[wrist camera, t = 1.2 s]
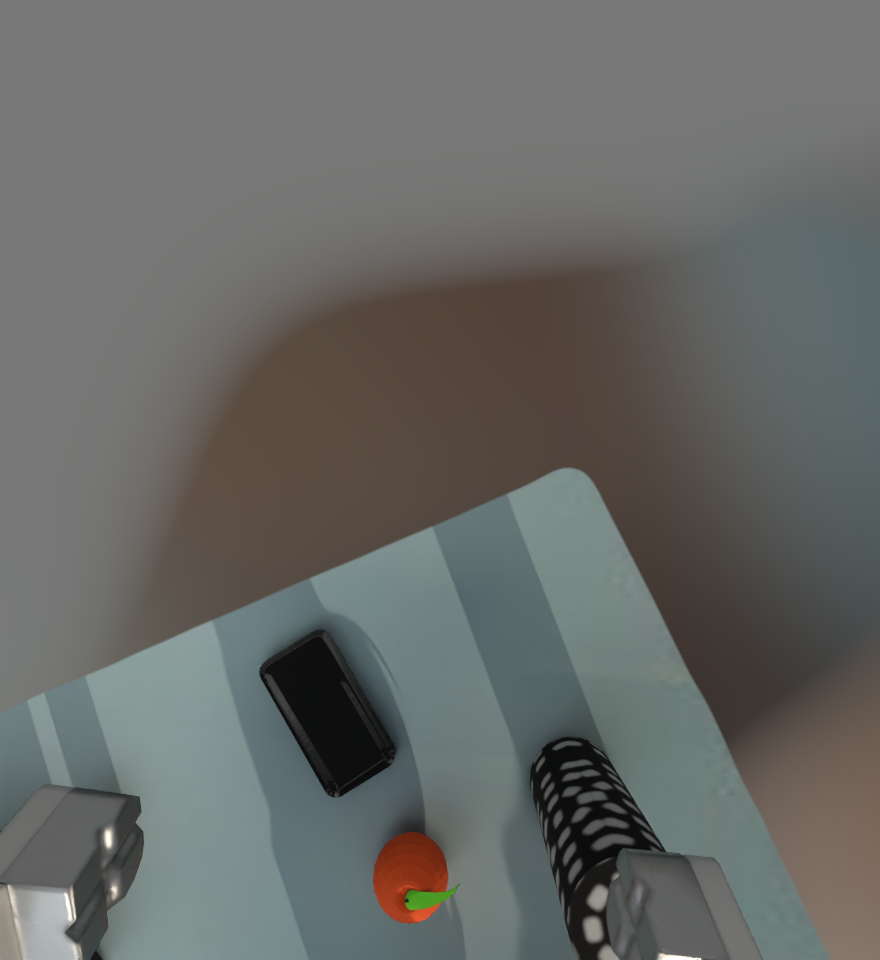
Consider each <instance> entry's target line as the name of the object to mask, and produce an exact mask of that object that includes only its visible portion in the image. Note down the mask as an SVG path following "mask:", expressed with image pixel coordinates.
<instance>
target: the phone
mask: <svg viewBox="0 0 880 960" xmlns="http://www.w3.org/2000/svg"><path fill="white" fill-rule="evenodd" d="M259 672H260V677H261V679H262V681H263V683H264V685H265V686H266V688H267V690H268V692H269V693H270V695H271V697H272V699H273V700H274V702H275V704H276V706H277V707H278V709H279V711H280V713H281V714H282V716H283V718H284V720H285V721H286V723H287V725H288V727H289V728H290V730H291V732H292V734H293V736H294V737H295V739H296V741H297V743H298V744H299V746H300V748H301V750H302V751H303V753H304V755H305V757H306V758H307V760H308V762H309V764H310V765H311V767H312V769H313V771H314V772H315V774H316V776H317V778H318V779H319V781H320V783H321V785H322V786H323V788H324V790H325V792H326V793H327V794H328V795H329V796H331V797H334V798H337V797H340V796H342V795H344V794H346V793H347V792H349V791H350V790H352V789H354V788H355V787H357V786H358V785H360V784H362V783H363V782H365V781H366V780H368V779H370V778H371V777H373V776H374V775H376V774H378V773H379V772H381V771H382V770H384V769H386V768H387V767H389V766H390V765H391V764H392V763H393V761H394V758H395V754H396V749H395V746H394V744H393V742H392V741H391V739H390V737H389V736H388V734H387V732H386V730H385V729H384V727H383V725H382V724H381V722H380V720H379V718H378V717H377V715H376V713H375V712H374V710H373V708H372V707H371V705H370V703H369V701H368V700H367V698H366V696H365V695H364V693H363V691H362V689H361V688H360V686H359V684H358V683H357V681H356V679H355V677H354V676H353V674H352V672H351V671H350V669H349V667H348V665H347V664H346V662H345V660H344V659H343V657H342V655H341V654H340V652H339V650H338V648H337V647H336V645H335V643H334V642H333V640H332V638H331V636H330V635H329V634H328V632H326V631H325V630H316V631H314V632H312V633H310V634H309V635H307V636H306V637H304V638H302V639H301V640H299V641H298V642H296V643H294V644H293V645H291V646H290V647H288V648H286V649H285V650H283V651H281V652H280V653H278V654H277V655H275V656H273V657H272V658H270V659H269V660H267V661H266V662H265V663H263V664H262V666H261V667H260V671H259Z"/></svg>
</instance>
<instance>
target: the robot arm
mask: <svg viewBox="0 0 880 960" xmlns="http://www.w3.org/2000/svg"><path fill="white" fill-rule="evenodd" d="M141 812H142V811H141V804H140V797H139V796H133V795H126V794H119V793H112V792H104V791H97V790H90V789H83V788H75V787H67V786H59V785H51V784H46V785H44V786H43V787H41V788H40V789H38V790H37V791H36V792H34V793H33V795H32V796H31V797H30V798H29V799H28V800H27V802H26V803H25V804H24V805H23V806H22V808H21V809H20V810H19V811H18V812H17V813H16V815H15V816H14V817H13V818H12V819H11V820H10V822H9V823H8V824H7V825H6V826H5V828H4V829H3V830H2V831H1V832H0V960H90V959H91V957H92V955H93V954H94V952H95V950H96V948H97V946H98V945H99V943H100V941H101V939H102V937H103V936H104V934H105V932H106V930H107V928H108V919H107V910H109V909H110V908H111V907H112V906H114V905H115V904H116V903H118V902H119V901H120V900H122V899H123V898H124V897H125V896H126V894H127V892H128V890H129V888H130V886H131V884H132V882H133V881H134V879H135V876H136V873H137V870H138V867H139V864H140V862H141V859H142V853H143V846H144V835H143V831H142V830H141V828H140V827H139V826H138V825H137V824H136V823H135V822H136V820H137V818H138V817H139V815H140V813H141ZM616 866H617V870H618V874H619V877H617V878H616V879H615V880H613V881H612V882H611V883H610V886H609V890H608V894H607V909H606V918H607V926H608V933H609V938H610V942H611V947H612V951H613V952H614V953H615V955H616V956H617V957H618V958H619V960H763V958H762V956H761V954H760V951H759V949H758V947H757V945H756V943H755V941H754V938H753V936H752V934H751V932H750V930H749V927H748V925H747V923H746V921H745V919H744V917H743V914H742V912H741V910H740V908H739V906H738V904H737V901H736V899H735V897H734V895H733V893H732V891H731V888H730V886H729V884H728V882H727V880H726V877H725V875H724V873H723V871H722V869H721V867H720V864H719V863H718V862H717V861H716V860H715V859H714V858H711V857H702V856H693V855H681V854H680V853H671V852H660V851H650V850H639V849H628V848H623V849H622V850H621V851H620V852H619V855H618V858H617V861H616Z"/></svg>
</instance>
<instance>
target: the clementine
mask: <svg viewBox="0 0 880 960" xmlns="http://www.w3.org/2000/svg"><path fill="white" fill-rule="evenodd" d="M373 883H374V891H375V894H376V897H377V899H378V902H379V904H380V906H381V907H382V909H383V910H384V911H385V913H386V914H388V915H389V916H390V917H391V918H393V919H395V920H397V921H399V922H403V923H417V922H420V921H422V920H425V919H427V918H428V917H429V916H430V915H432V914H433V913H434V912H435V911H436V909H437V908H438V907H439V905H440V904H441V903H442V902H443V901H445V900H446V899H448V898H449V897H450V896H451V895H452V894H453V893H455V891H456V889H457V888H458V886H459V884H458V885H457V886H456V887H455V888H454V889H452V890H449V891H446V889H447V883H448V871H447V864H446V860H445V857H444V855H443V852H442V851H441V849H440V848H439V847H438V845H437V844H436V843H435V842H434V841H433V840H432V839H430V838H429V837H428V836H426V835H423V834H421V833H416V832H408V833H403V834H401V835H398V836H396V837H394V838H393V839H392V840H390V841H389V842H388V843H387V844H386V845H385V846H384V848H383V849H382V850H381V852H380V854H379V856H378V859H377V861H376V864H375V868H374V876H373Z"/></svg>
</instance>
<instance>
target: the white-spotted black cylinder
mask: <svg viewBox="0 0 880 960" xmlns="http://www.w3.org/2000/svg"><path fill="white" fill-rule="evenodd" d="M530 786H531V791H532V795H533V799H534V803H535V807H536V810H537V814H538V818H539V822H540V826H541V830H542V834H543V837H544V841H545V845H546V849H547V853H548V857H549V861H550V864H551V868H552V872H553V876H554V880H555V884H556V888H557V891H558V895H559V899H560V903H561V907H562V911H563V915H564V918H565V922H566V926H567V930H568V934H569V937H570V941H571V944H572V947H573V949H574V951H575V953H576V955H577V957H578V959H579V960H619V958H618V957H617V956H616V955H615V953H614V952H613V951H612V947H611V942H610V938H609V933H608V926H607V918H606V909H607V894H608V890H609V886H610V883H611V882H612V881H613V880H615V879H616V878H617V877H619V874H618V870H617V866H616V861H617V858H618V855H619V852H620V851H621V850H622V849H623V848H628V849H639V850H650V851H660V852H666V851H665V849H664V847H663V846H662V844H661V843H660V841H659V839H658V838H657V836H656V835H655V833H654V831H653V830H652V828H651V827H650V825H649V823H648V822H647V820H646V818H645V817H644V815H643V814H642V812H641V810H640V809H639V807H638V806H637V804H636V802H635V801H634V799H633V798H632V796H631V794H630V793H629V791H628V790H627V788H626V786H625V785H624V783H623V781H622V780H621V778H620V777H619V775H618V773H617V772H616V770H615V769H614V767H613V765H612V764H611V762H610V761H609V759H608V757H607V756H606V755H605V754H604V752H603V751H602V750H601V749H600V748H599V747H597V746H596V745H595V744H593V743H591V742H589V741H587V740H584V739H581V738H575V737H566V738H561V739H557V740H555V741H553V742H551V743H549V744H548V745H546V746H545V747H544V748H543V749H542V750H541V751H540V752H539V753H538V755H537V756H536V758H535V760H534V762H533V765H532V768H531V772H530Z"/></svg>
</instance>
